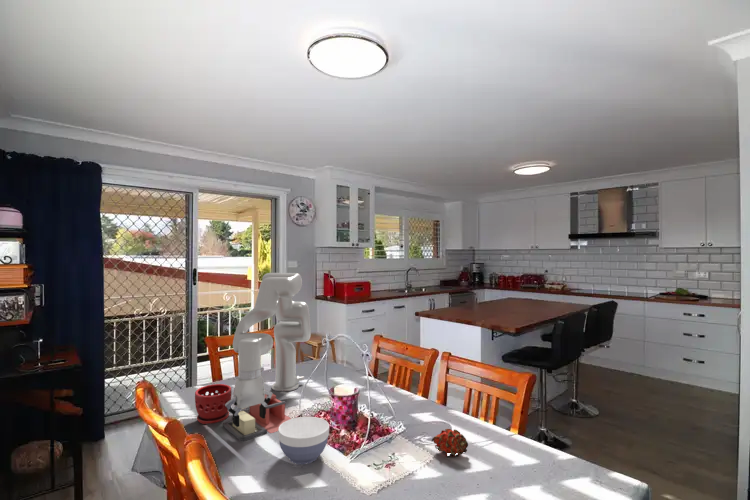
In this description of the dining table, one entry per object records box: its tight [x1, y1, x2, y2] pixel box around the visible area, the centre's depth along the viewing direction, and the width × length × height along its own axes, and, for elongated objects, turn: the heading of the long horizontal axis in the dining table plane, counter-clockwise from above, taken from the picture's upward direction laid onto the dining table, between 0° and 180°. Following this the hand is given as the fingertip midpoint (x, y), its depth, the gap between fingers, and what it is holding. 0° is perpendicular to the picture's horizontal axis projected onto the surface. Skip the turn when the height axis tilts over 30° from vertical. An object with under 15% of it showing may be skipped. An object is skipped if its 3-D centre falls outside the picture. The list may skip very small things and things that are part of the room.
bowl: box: [277, 416, 330, 465], centre depth 126 cm, size 16×16×10 cm
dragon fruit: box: [431, 428, 469, 456], centre depth 128 cm, size 8×8×12 cm
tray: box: [222, 419, 268, 442], centre depth 143 cm, size 9×16×2 cm, turn 43°
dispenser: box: [246, 393, 292, 434], centre depth 152 cm, size 22×12×8 cm, turn 43°
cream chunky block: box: [232, 410, 256, 436], centre depth 143 cm, size 10×4×5 cm, turn 43°
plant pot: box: [194, 383, 232, 425], centre depth 153 cm, size 13×13×12 cm
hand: (249, 421), depth 141 cm, fingers open, 9 cm apart
